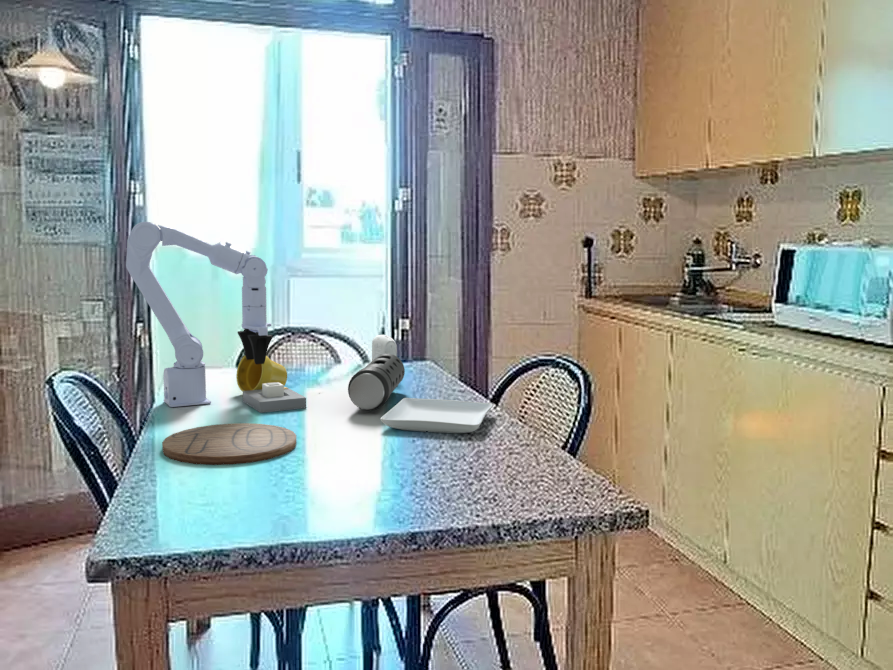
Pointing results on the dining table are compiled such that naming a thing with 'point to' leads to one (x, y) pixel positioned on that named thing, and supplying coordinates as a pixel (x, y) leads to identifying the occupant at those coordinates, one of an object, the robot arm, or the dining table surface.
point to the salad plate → (436, 415)
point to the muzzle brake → (376, 382)
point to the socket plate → (274, 401)
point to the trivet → (229, 444)
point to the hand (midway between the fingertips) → (255, 361)
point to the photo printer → (383, 346)
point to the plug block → (272, 389)
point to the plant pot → (259, 374)
